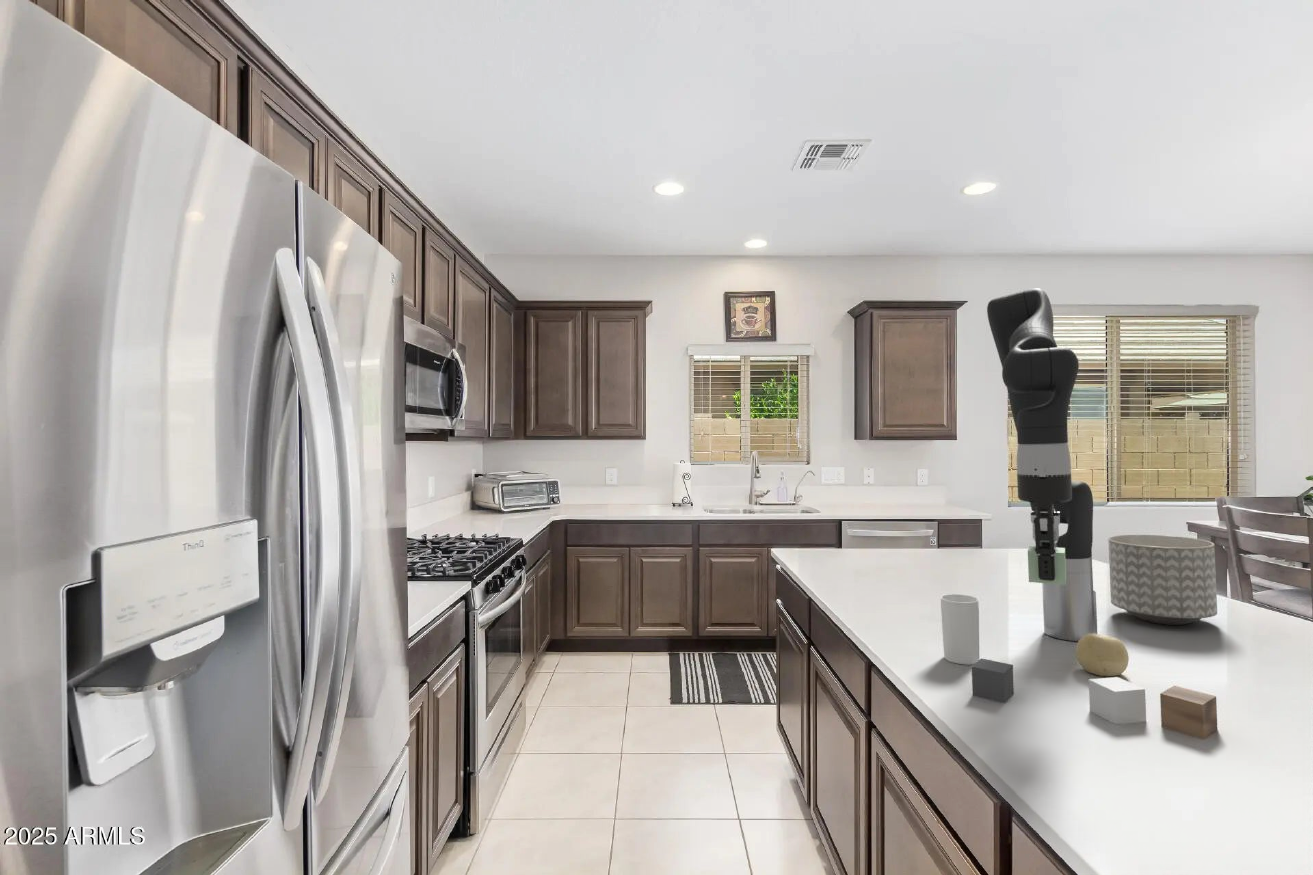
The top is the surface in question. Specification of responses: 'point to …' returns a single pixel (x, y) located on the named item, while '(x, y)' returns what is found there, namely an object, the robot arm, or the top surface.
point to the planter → (1163, 577)
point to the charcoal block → (992, 680)
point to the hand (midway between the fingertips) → (1047, 575)
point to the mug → (960, 628)
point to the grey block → (1117, 700)
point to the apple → (1102, 655)
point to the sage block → (1059, 567)
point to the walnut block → (1188, 712)
